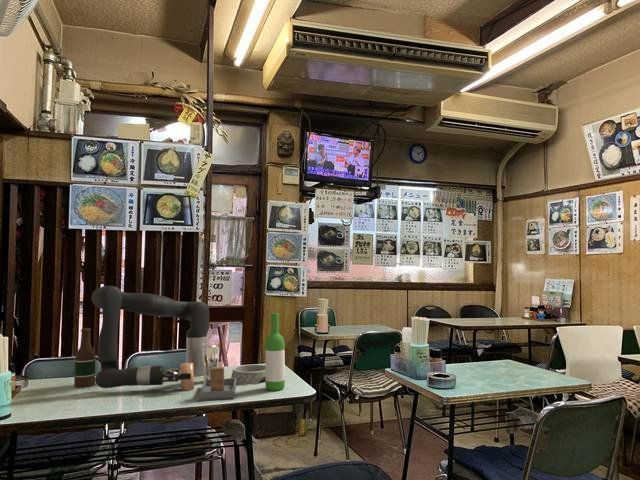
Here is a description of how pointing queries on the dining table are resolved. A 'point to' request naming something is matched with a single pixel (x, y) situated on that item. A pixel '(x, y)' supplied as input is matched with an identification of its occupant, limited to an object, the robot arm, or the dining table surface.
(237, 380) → the dog bowl
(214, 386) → the walnut block
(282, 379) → the wine bottle
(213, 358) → the beer glass
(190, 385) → the terracotta jar
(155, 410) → the dining table surface
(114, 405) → the dining table surface
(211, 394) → the tote
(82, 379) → the beer bottle
